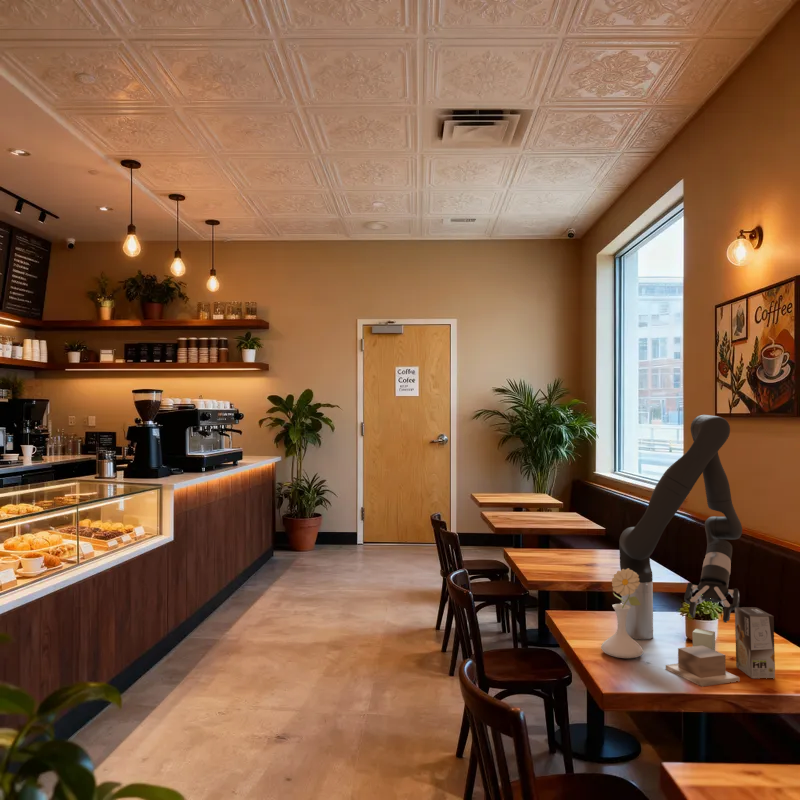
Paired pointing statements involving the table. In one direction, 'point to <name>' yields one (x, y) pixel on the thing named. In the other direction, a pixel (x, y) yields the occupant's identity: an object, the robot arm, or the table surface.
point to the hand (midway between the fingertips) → (708, 618)
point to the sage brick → (704, 638)
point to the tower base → (703, 680)
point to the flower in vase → (623, 617)
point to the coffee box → (755, 642)
